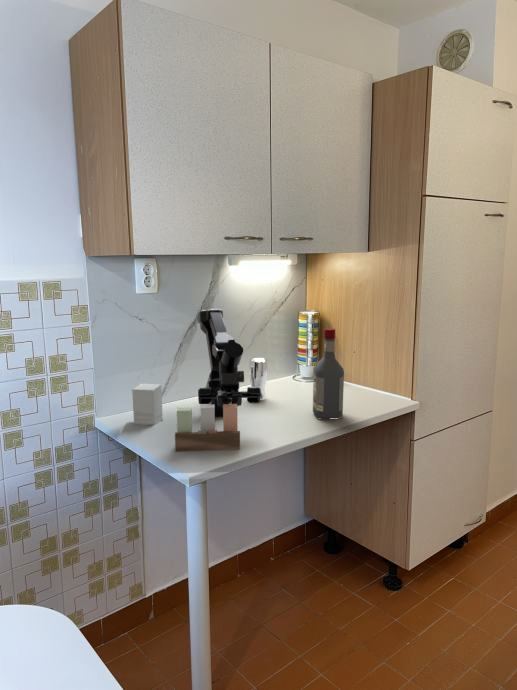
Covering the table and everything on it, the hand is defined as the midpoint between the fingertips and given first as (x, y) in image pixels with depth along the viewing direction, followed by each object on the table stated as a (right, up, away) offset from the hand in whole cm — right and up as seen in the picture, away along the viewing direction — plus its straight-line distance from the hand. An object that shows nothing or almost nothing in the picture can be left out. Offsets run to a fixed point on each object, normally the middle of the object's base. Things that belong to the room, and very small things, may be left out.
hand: (230, 420), depth 158 cm
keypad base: (-6, -7, -3) cm, 10 cm away
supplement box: (-28, -4, +18) cm, 33 cm away
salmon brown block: (0, -6, -1) cm, 6 cm away
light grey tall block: (-6, -6, -2) cm, 9 cm away
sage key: (-13, -7, -4) cm, 15 cm away
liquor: (+32, -2, +27) cm, 42 cm away
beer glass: (+8, +2, +46) cm, 47 cm away
